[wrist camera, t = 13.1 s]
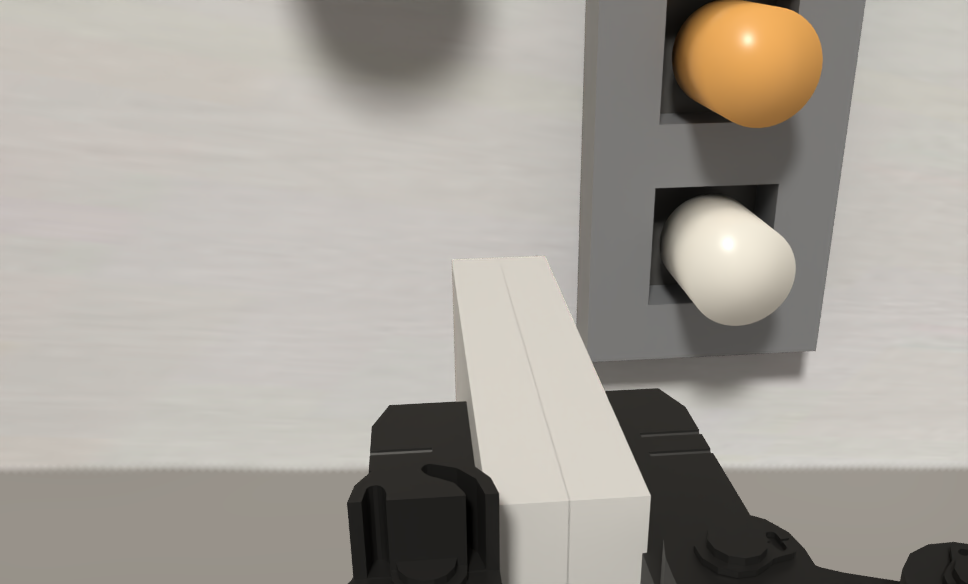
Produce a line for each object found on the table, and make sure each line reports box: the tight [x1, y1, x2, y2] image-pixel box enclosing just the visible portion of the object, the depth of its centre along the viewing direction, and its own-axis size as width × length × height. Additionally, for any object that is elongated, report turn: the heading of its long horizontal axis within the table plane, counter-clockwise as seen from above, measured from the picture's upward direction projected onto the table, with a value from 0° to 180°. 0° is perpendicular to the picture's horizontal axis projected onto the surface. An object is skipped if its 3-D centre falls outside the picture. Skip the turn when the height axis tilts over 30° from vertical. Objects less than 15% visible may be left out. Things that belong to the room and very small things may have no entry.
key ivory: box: [659, 194, 796, 326], centre depth 41 cm, size 5×5×5 cm
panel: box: [576, 0, 866, 362], centre depth 41 cm, size 12×30×3 cm, turn 1°
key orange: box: [672, 0, 823, 128], centre depth 38 cm, size 5×5×5 cm
